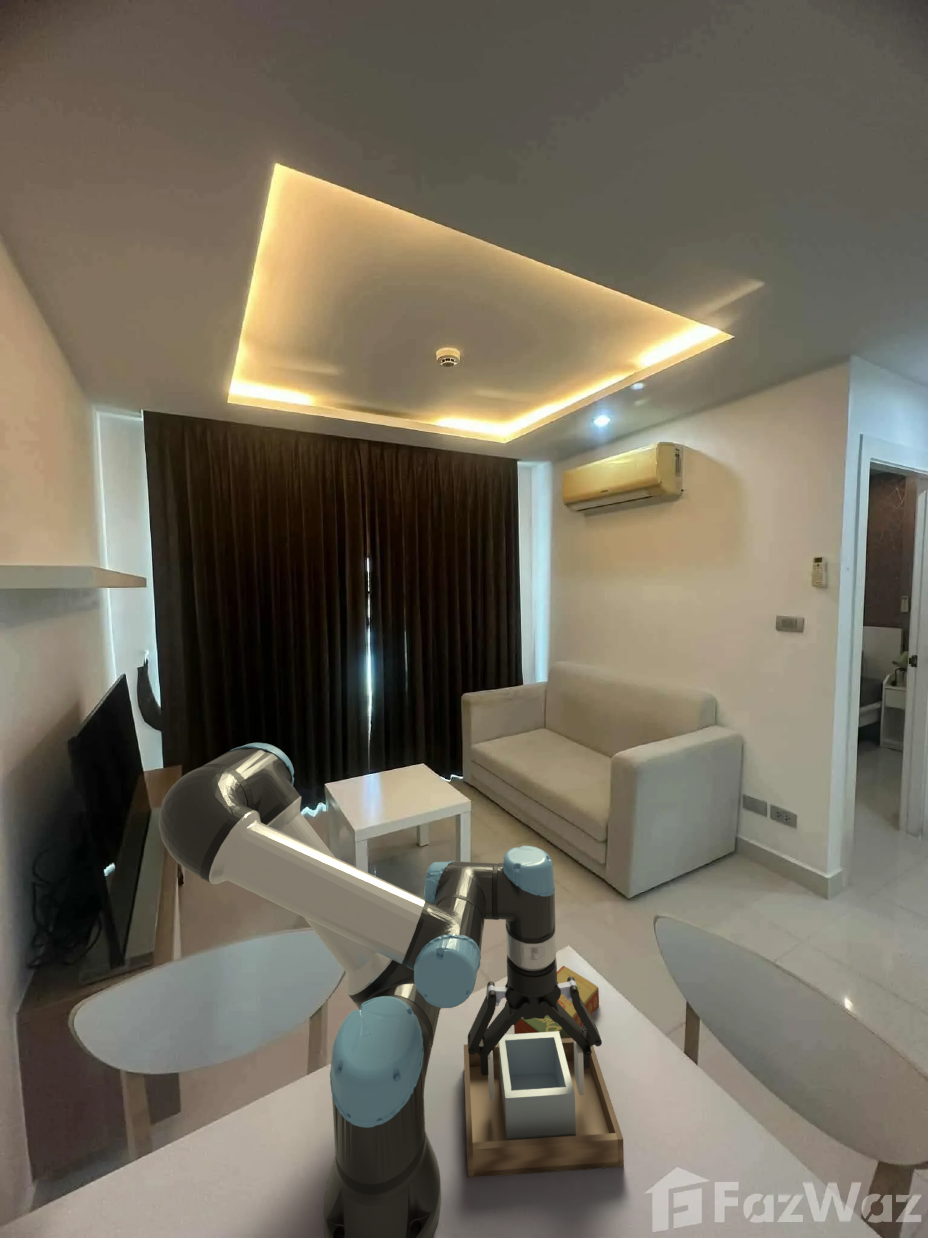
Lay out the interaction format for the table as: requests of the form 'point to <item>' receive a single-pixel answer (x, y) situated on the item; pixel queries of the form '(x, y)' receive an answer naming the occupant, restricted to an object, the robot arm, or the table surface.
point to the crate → (497, 1156)
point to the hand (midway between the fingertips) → (535, 1089)
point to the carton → (586, 993)
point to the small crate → (536, 1087)
